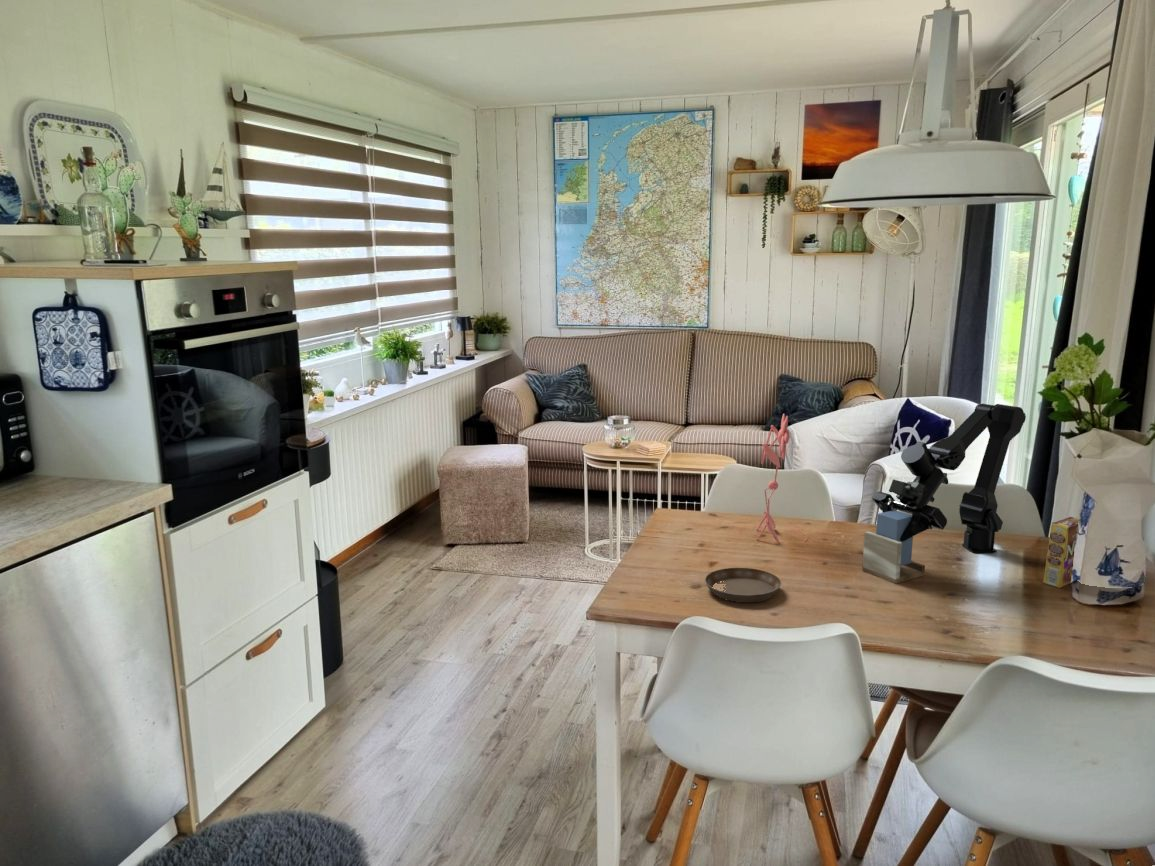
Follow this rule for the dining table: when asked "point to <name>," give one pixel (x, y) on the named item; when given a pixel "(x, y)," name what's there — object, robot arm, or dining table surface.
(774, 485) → the figurine
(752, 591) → the plant saucer
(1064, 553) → the candy box
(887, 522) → the blue-grey rectangular block
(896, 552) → the wooden stand
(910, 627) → the dining table surface
